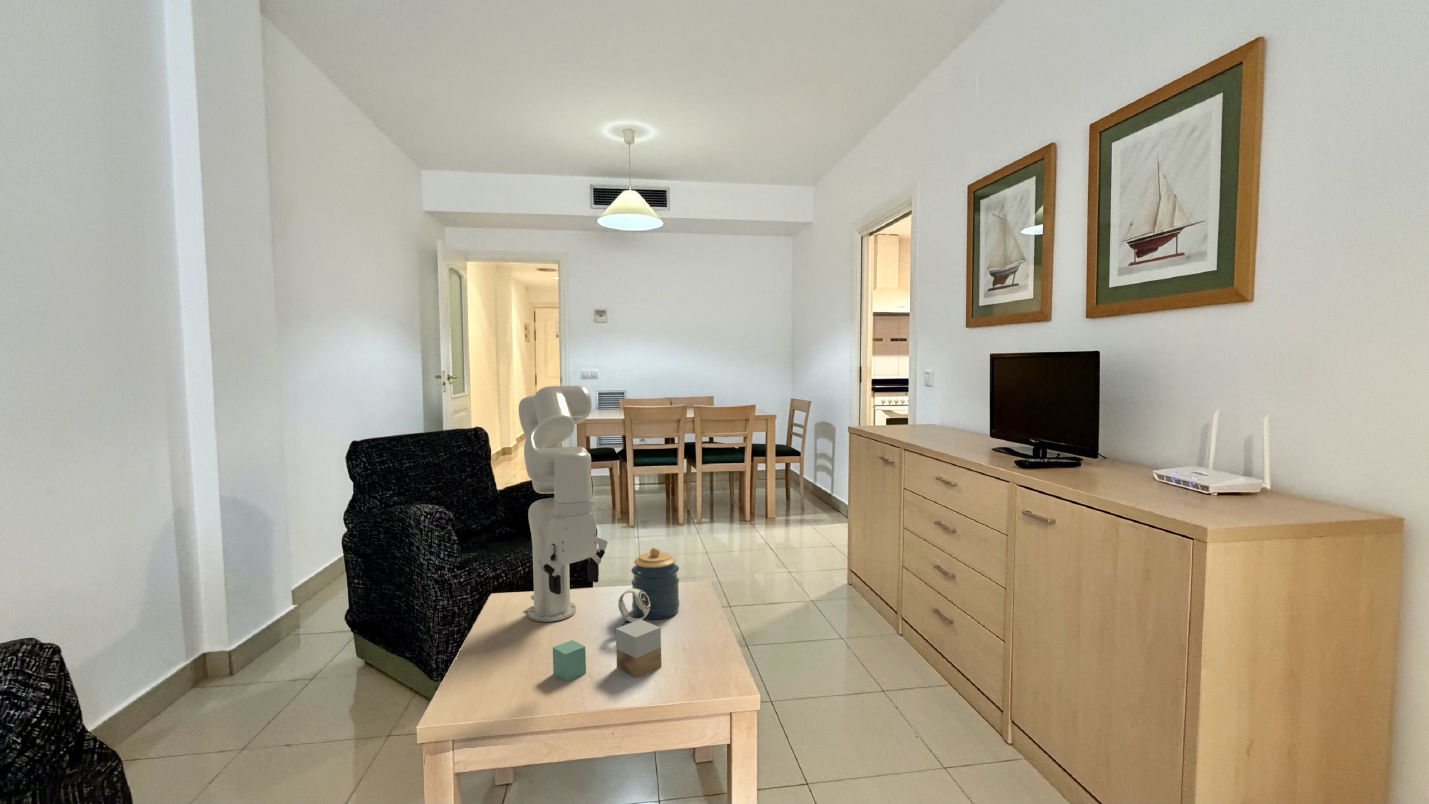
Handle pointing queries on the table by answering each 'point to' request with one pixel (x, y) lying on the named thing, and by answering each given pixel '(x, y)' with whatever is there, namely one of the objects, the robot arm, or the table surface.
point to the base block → (639, 663)
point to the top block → (638, 638)
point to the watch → (641, 601)
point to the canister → (656, 584)
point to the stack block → (569, 660)
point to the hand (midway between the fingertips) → (574, 586)
